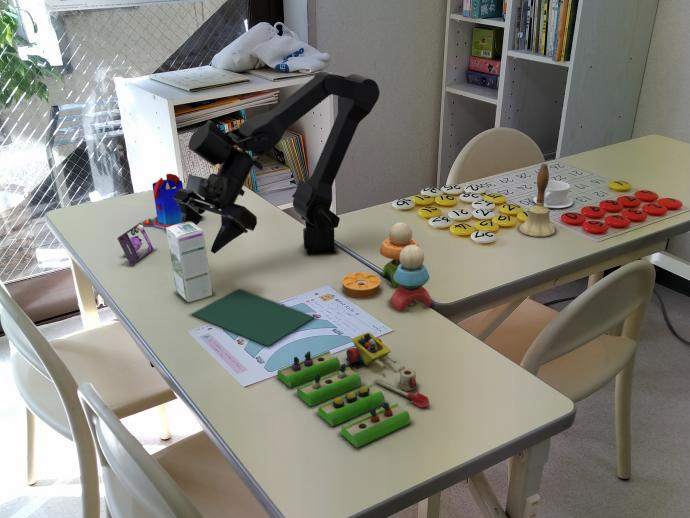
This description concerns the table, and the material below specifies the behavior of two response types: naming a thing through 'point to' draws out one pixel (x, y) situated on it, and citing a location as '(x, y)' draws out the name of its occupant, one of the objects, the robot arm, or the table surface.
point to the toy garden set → (354, 401)
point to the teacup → (556, 195)
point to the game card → (134, 244)
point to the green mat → (253, 317)
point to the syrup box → (189, 261)
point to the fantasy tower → (166, 202)
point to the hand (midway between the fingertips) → (196, 246)
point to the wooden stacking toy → (395, 271)
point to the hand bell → (539, 210)
